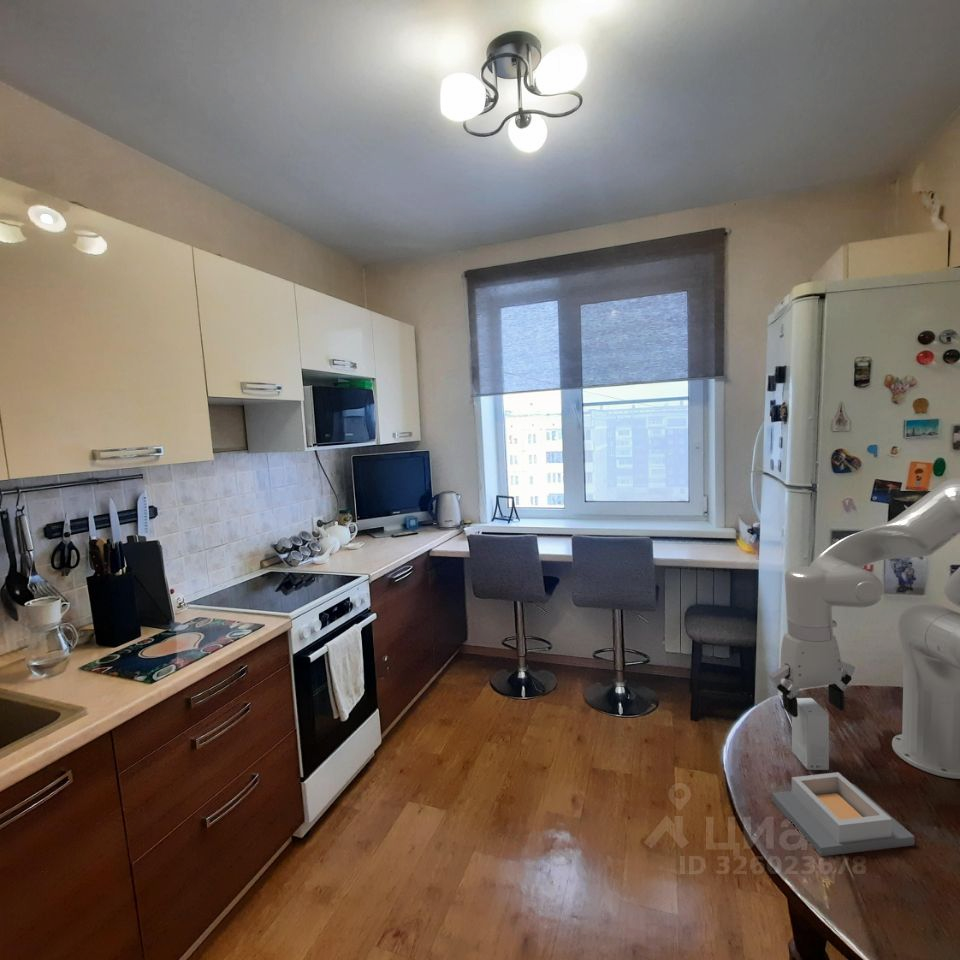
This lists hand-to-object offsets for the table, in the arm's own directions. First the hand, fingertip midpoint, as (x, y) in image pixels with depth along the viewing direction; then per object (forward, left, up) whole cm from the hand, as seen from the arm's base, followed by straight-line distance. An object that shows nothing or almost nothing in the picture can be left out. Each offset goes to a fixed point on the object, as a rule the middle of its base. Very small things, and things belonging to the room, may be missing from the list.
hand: (813, 709), depth 99 cm
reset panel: (+7, +15, -11) cm, 20 cm away
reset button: (+7, +15, -11) cm, 20 cm away
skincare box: (+1, 0, -11) cm, 11 cm away
